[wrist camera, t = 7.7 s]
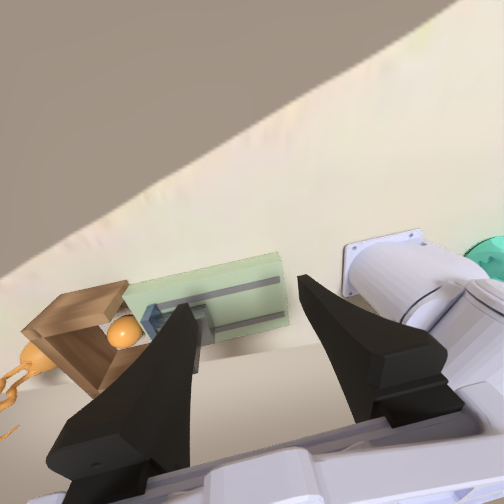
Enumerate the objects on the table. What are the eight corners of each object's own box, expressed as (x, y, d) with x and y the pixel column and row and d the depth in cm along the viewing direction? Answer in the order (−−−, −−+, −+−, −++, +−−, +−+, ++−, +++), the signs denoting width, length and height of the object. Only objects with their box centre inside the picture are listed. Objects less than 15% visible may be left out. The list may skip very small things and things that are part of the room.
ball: (114, 310, 24) (140, 308, 24) (128, 330, 26) (153, 328, 25) (92, 335, 21) (122, 333, 21) (109, 355, 23) (137, 354, 22)
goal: (126, 279, 22) (103, 312, 18) (165, 345, 28) (155, 383, 23) (60, 294, 22) (20, 331, 18) (113, 358, 27) (92, 398, 23)
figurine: (91, 356, 27) (8, 492, 16) (43, 364, 26) (-76, 510, 16) (58, 309, 23) (-82, 450, 12) (0, 318, 22) (-197, 472, 12)
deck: (277, 251, 23) (282, 261, 21) (285, 313, 28) (290, 326, 26) (129, 284, 23) (120, 297, 21) (163, 342, 27) (159, 357, 25)
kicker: (201, 293, 21) (196, 336, 17) (218, 336, 25) (218, 383, 20) (147, 305, 21) (125, 353, 16) (171, 347, 25) (159, 397, 20)
